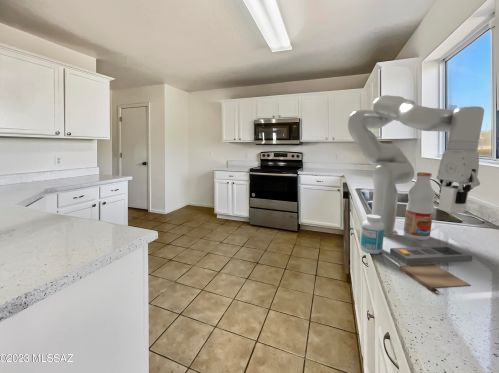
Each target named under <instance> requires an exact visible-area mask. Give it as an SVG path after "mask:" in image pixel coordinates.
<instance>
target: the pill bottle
mask: <svg viewBox="0 0 499 373" xmlns="http://www.w3.org/2000/svg"><path fill="white" fill-rule="evenodd" d="M380 221H381V216H378V215H371V214H367V215H366V219H365V220H364V221H362V224H361V233H360V234H361V235H360V246H359V248H360V250H361V251H363V252H364V253H367V254H370V255H379V254H381V253H382V252H383V247H384V246H383V245H384V237H385V236H384V224H383V223H381V222H380Z"/></svg>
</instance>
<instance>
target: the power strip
mask: <svg viewBox="0 0 499 373" xmlns="http://www.w3.org/2000/svg"><path fill="white" fill-rule="evenodd" d="M389 255H391V256H392V257H394V258H396V259H397V260H398V261H400V262H402V263H403V264H405V265H422V264H439V263H456V262H472V261H473V256H474V255H473V254H471V253H469V252H466V251H465V250H462V249H461V248H457V247H456V246H453V245H449V244H448V245H431V246H411V247H410V246H409V247H390V249H389Z"/></svg>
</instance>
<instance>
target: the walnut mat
mask: <svg viewBox="0 0 499 373" xmlns="http://www.w3.org/2000/svg"><path fill="white" fill-rule="evenodd" d="M399 270H401V271H402V272H403V273H404V272H405V275H408V277H410V278H411V279H413V280H414V281H416V282H417V283H418V284H420V285H421V286H423V287H424V288H425V287H426V289H427V290H428V291H430V292H439V290H438V289H439V288H440V289H441V288H452V287H469V286H471V284H470V283H468V282H467V281H465V280H464V279H462V278H459V277H458V276H457V275H455V274H453V273H451V272H449V271H447V270H446V269H444V268H442V267H440V266H438V265H437V264H436V263H424V264H405V265H399Z"/></svg>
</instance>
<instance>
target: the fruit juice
mask: <svg viewBox="0 0 499 373" xmlns="http://www.w3.org/2000/svg"><path fill="white" fill-rule="evenodd" d="M416 177H417V178H416V180H415V183H414V185H413V186H412V187H411V188H410V189H409V191H408V194H407V195H408V202H407V204H406V209H405V216H404V224H403V232H402V233H403V236H406V237H407V238H409V239H414V240H419V241H420V240H421V241H426V240H427V241H428V240H430V237H431V231H432V230H431V229H432V223H433V216H434V208H435V207H434V200H435V198H436V191H435V190H434V189H433V186H432V184H431V178H432V172H431V173H430V172H424V171H422V172H420V171H419V172H417V173H416Z"/></svg>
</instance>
